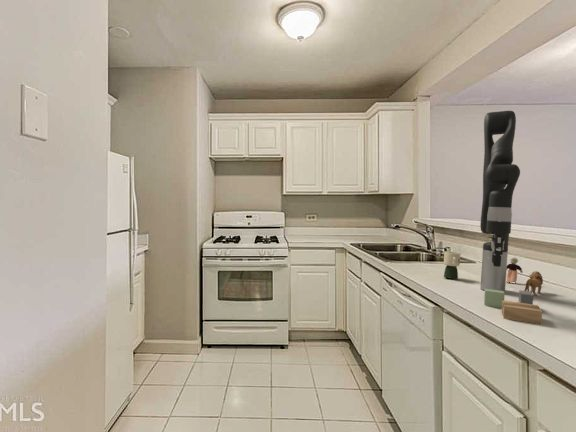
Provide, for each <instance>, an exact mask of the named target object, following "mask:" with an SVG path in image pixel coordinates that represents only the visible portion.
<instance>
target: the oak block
mask: <svg viewBox="0 0 576 432" xmlns="http://www.w3.org/2000/svg"><path fill="white" fill-rule="evenodd" d="M501 315H502V317H503V319H506V320H513V321H519V322H525V323H531V324H538V325H542V323H543V322H542V320H543V311H542V309H541V308H540V306H539V305H538V304H526V303H519V302H517V301H512V300H511V301H510V300H505V299H504V300H502V308H501Z"/></svg>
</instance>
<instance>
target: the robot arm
mask: <svg viewBox="0 0 576 432" xmlns="http://www.w3.org/2000/svg"><path fill="white" fill-rule="evenodd" d="M483 119H484V120H483V138H484V142H483V143H484V147H483V148H484V155H483V156H484V157H483V167H482V168H483V169H482V205H481V214H480V222H479V223H480V226H479V227H480V232H481V233H482V234H485V235H492V237H491V239H490V241H487V242H484V243H483V245H482V259H481V274H480V290H482V291H485V289H491V290H499V291H504V293H505V292H506V285H507V283H506V281H507V272H508V269H507V265H508V254H509V253H508V251H509V240H510V239H509V238H510V234H511V231H512V217H513V213H512V211H513V209H512V204H513V203H512V202H513V195H514V191H515V188H516V185H517V183H518V181H519V178H520V176H521V169H520V167H519V166H518V165H517V164H514V163H513V162H514V150H513V147H514V140H515V133H516V125H517V119H516V113H515V112H514V111H513V110H501V111H491V112H487V113H486V114H485V116H484V118H483ZM494 135H501V136H500V137H499V138H498V139H497V140H495V141H494V139H493V136H494Z"/></svg>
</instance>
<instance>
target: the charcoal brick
mask: <svg viewBox="0 0 576 432" xmlns="http://www.w3.org/2000/svg"><path fill="white" fill-rule="evenodd" d="M518 302H519V303H526V304H533V303H534V294H533V293H532V292H530V291H529V292H528V290H527V291H524V290H521V289H520V290H519V291H518ZM533 305H534V304H533Z"/></svg>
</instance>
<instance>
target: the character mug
mask: <svg viewBox="0 0 576 432" xmlns="http://www.w3.org/2000/svg"><path fill="white" fill-rule="evenodd" d="M443 253H444V255H443V265H445V269H444V273H443V277H444V278H447V279H450V280H453V279H455V280H458V279H459V273H458V267H460V265H461V262H460V261H461V252H458V251H457V252H456V251H448V250H447V251H446V250H445V251H444V252H443Z"/></svg>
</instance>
